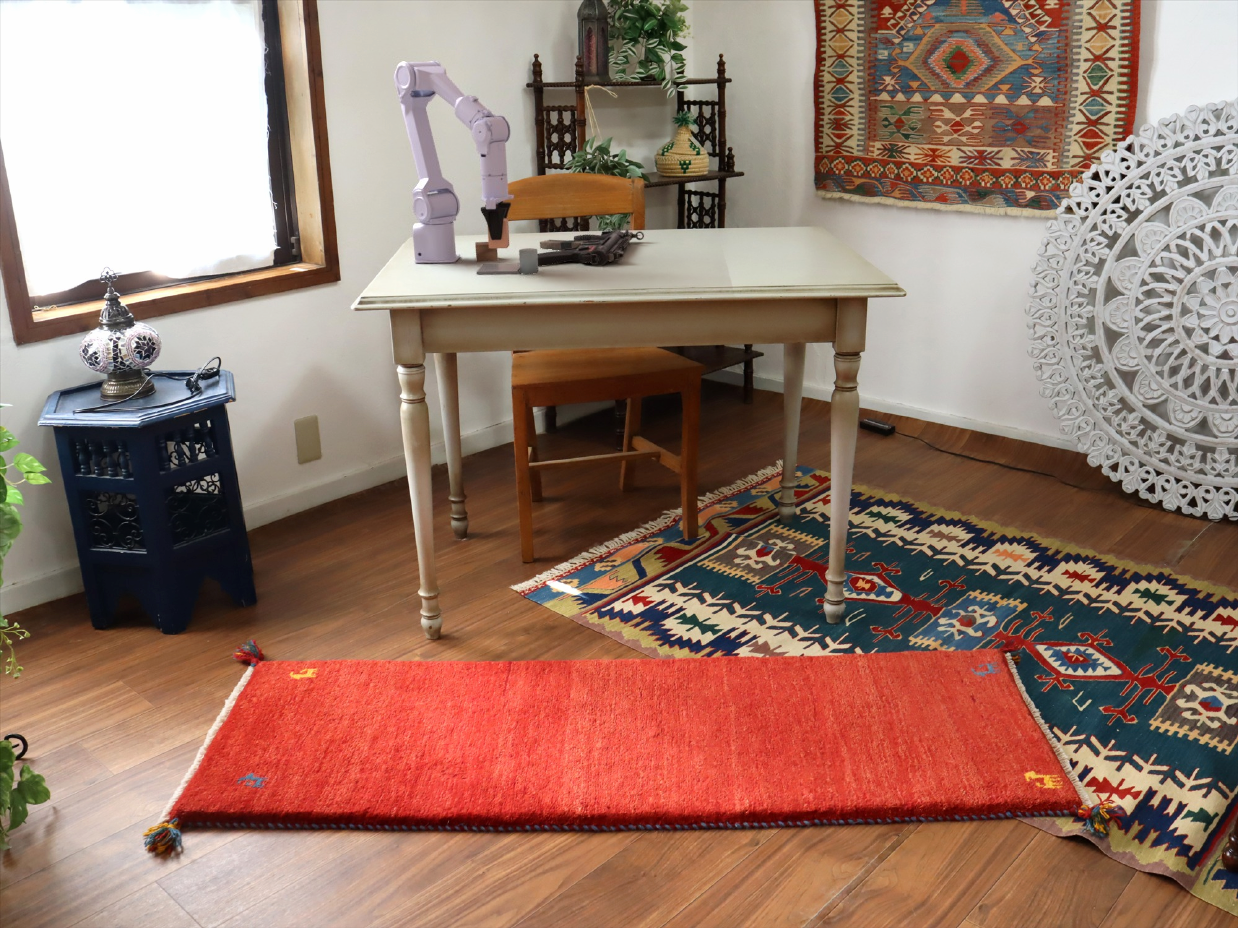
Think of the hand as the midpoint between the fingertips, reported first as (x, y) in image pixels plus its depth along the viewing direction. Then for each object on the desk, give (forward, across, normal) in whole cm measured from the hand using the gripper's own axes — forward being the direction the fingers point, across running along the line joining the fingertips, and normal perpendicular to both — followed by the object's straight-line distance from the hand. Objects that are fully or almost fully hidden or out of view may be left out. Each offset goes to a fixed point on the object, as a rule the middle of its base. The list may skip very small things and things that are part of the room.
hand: (498, 238), depth 235 cm
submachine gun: (+8, +19, -18) cm, 27 cm away
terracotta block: (+2, 0, 0) cm, 2 cm away
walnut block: (+7, +13, +5) cm, 16 cm away
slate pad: (+7, 0, 0) cm, 7 cm away
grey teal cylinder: (+7, -3, -7) cm, 10 cm away
